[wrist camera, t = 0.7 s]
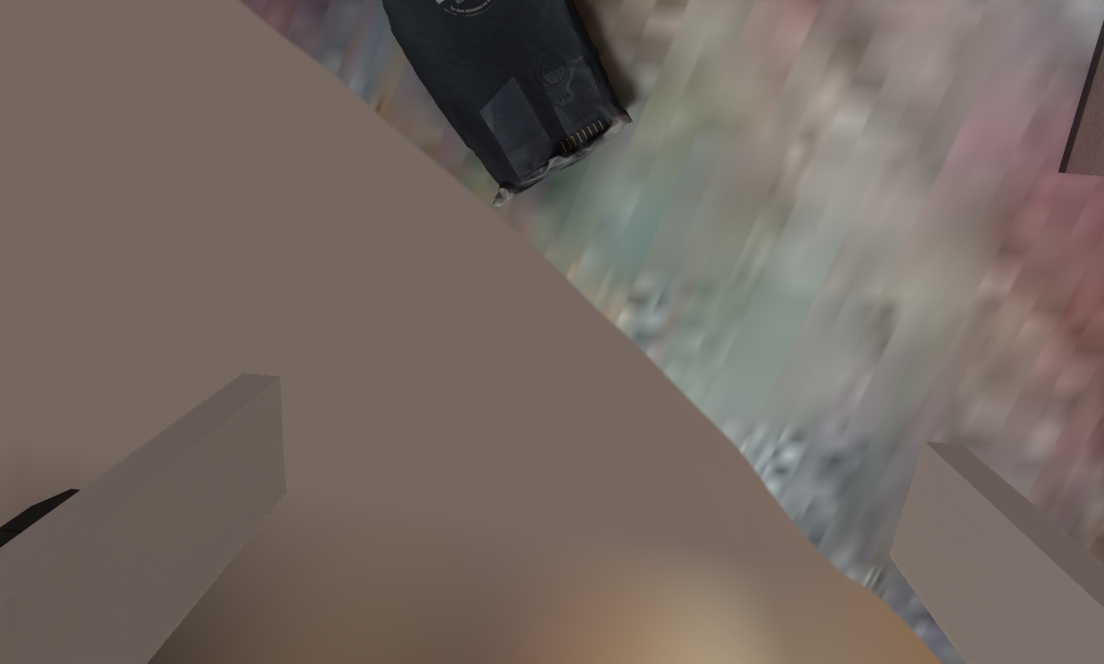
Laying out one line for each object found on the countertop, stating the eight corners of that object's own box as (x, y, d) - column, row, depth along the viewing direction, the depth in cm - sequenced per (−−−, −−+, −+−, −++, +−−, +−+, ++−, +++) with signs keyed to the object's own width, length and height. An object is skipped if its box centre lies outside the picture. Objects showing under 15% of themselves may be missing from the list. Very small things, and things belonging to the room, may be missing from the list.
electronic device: (642, 110, 36) (499, -169, 31) (645, 128, 31) (477, -199, 26) (507, 189, 39) (355, -52, 33) (492, 217, 34) (311, -59, 29)
